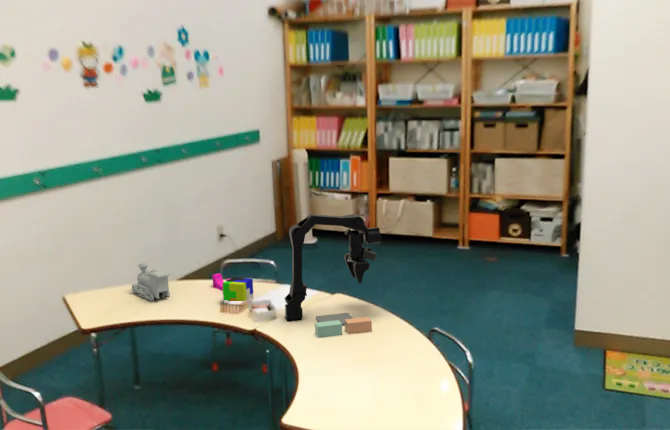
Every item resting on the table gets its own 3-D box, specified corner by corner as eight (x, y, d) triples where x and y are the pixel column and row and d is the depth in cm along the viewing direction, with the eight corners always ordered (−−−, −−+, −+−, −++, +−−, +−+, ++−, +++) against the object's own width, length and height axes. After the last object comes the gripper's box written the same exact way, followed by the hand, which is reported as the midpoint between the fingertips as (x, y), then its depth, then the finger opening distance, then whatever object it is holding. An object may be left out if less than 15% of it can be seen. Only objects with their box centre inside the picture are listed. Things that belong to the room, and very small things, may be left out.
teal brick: (318, 338, 241) (317, 326, 240) (315, 333, 246) (315, 322, 245) (342, 335, 243) (341, 324, 243) (339, 330, 248) (338, 320, 247)
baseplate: (322, 328, 251) (322, 325, 251) (315, 318, 262) (315, 316, 262) (355, 324, 254) (355, 321, 254) (348, 314, 266) (348, 312, 266)
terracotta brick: (348, 334, 244) (347, 323, 243) (345, 330, 249) (344, 319, 248) (371, 331, 246) (371, 320, 245) (368, 327, 251) (368, 316, 250)
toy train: (150, 288, 313) (147, 259, 310) (177, 299, 293) (174, 268, 290) (128, 293, 306) (126, 263, 303) (155, 305, 286) (152, 273, 283)
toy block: (241, 292, 302) (240, 277, 301) (230, 295, 298) (229, 280, 296) (223, 286, 313) (223, 272, 311) (213, 289, 309) (212, 274, 307)
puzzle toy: (253, 299, 290) (252, 278, 289) (243, 306, 281) (242, 284, 279) (234, 298, 294) (233, 277, 292) (223, 304, 284) (222, 283, 283)
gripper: (381, 247, 257) (381, 284, 260) (368, 238, 275) (368, 273, 278) (355, 250, 254) (355, 287, 257) (343, 240, 272) (344, 275, 275)
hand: (356, 280), depth 267 cm, fingers open, 9 cm apart
